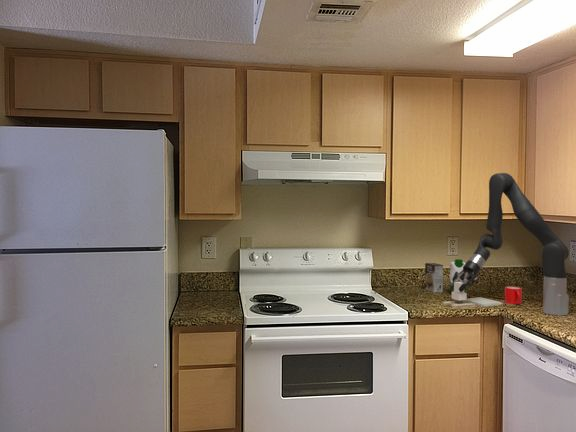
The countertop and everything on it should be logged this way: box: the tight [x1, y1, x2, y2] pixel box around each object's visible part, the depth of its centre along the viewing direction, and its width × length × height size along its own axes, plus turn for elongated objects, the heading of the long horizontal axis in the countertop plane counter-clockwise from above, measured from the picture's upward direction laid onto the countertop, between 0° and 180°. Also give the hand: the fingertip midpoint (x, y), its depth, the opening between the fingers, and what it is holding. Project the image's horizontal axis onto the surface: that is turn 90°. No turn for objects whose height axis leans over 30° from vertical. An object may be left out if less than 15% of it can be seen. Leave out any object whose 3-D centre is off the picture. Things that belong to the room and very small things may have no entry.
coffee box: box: [424, 262, 444, 293], centre depth 257 cm, size 9×6×16 cm
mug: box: [504, 285, 523, 305], centre depth 223 cm, size 8×12×8 cm, turn 177°
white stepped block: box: [451, 282, 468, 301], centre depth 219 cm, size 5×5×8 cm
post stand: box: [442, 292, 477, 310], centre depth 219 cm, size 11×11×7 cm
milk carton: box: [449, 258, 467, 294], centre depth 247 cm, size 9×9×20 cm
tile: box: [463, 296, 503, 307], centre depth 225 cm, size 14×12×1 cm
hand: (456, 289), depth 218 cm, fingers open, 4 cm apart
